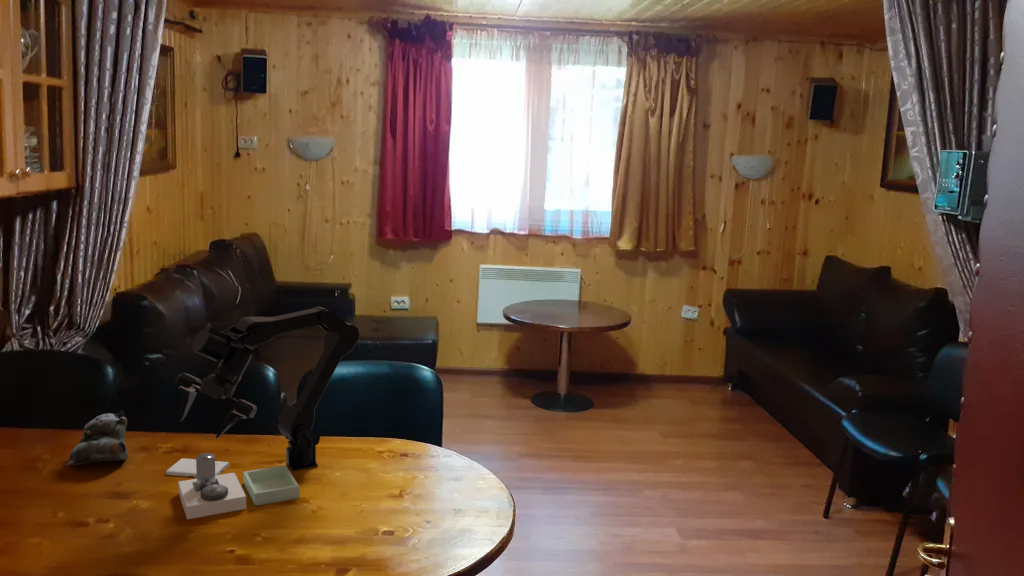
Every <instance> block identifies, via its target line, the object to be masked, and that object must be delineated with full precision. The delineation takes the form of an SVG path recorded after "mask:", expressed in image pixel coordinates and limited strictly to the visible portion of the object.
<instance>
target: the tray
mask: <svg viewBox="0 0 1024 576" xmlns="http://www.w3.org/2000/svg"><path fill="white" fill-rule="evenodd" d="M242 473H243V485H244V486H245V487H244V488H245V489H246V491H247V493H248V494H249V497H250V499H251V501H252V503H253V506H254V507H257V506H263V505H268V504H272V503H273V504H274V503H279V502H285V501H289V500H296V499H299V498H300V485H299V484H298V482H297V481H296V479H295V477H294V476H293V475H292V473H291V472H290V470H289V468H288V467H287V465H286V464H284V465H283V464H282V465H278V466H272V467H265V468H260V469H259V468H258V469H253V470H246V471H243V472H242Z"/></svg>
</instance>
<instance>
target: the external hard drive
mask: <svg viewBox="0 0 1024 576" xmlns="http://www.w3.org/2000/svg"><path fill="white" fill-rule="evenodd" d="M229 467H230V462H229V461H218V460H217V461H216V460H215V476H216V475H222V472H223V471H225V470H226V469H227V468H229ZM165 472H166V473H165V474H166V476H175V477H176V476H179V477H188V476H193V478H197V470H196V458H195V459H194V458H181V459H179V460H178V461H176V463H174V464H173V465H172V466H170V467H169V468H168V469H167V470H166V471H165Z"/></svg>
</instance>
